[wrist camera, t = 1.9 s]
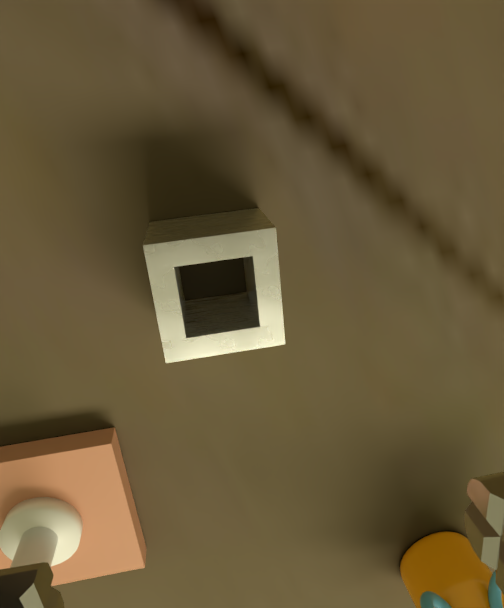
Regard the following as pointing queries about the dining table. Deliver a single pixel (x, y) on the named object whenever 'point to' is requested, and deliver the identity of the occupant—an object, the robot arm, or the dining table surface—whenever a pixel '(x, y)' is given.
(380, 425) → the dining table surface
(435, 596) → the orange vase with loops
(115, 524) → the shaft block
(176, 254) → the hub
